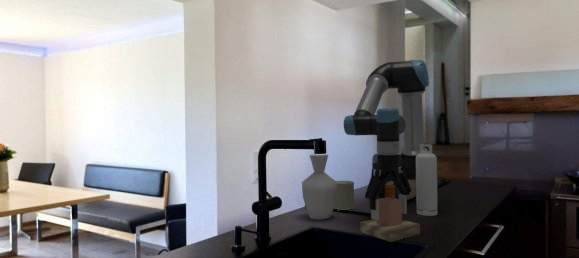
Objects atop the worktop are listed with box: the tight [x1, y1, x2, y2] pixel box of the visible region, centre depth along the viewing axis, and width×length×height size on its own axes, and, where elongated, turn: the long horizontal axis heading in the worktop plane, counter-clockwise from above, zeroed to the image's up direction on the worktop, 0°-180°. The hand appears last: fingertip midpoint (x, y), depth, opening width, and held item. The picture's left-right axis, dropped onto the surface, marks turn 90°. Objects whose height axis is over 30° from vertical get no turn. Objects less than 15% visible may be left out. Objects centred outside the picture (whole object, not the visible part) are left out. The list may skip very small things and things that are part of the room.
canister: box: [377, 181, 395, 199], centre depth 153 cm, size 9×11×20 cm
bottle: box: [415, 143, 438, 217], centre depth 160 cm, size 8×8×28 cm
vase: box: [301, 153, 337, 221], centre depth 158 cm, size 14×14×25 cm
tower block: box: [376, 197, 403, 226], centre depth 134 cm, size 6×6×8 cm
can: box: [333, 180, 355, 211], centre depth 173 cm, size 9×9×12 cm
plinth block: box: [359, 219, 421, 243], centre depth 134 cm, size 14×14×4 cm
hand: (389, 216), depth 134 cm, fingers open, 13 cm apart
